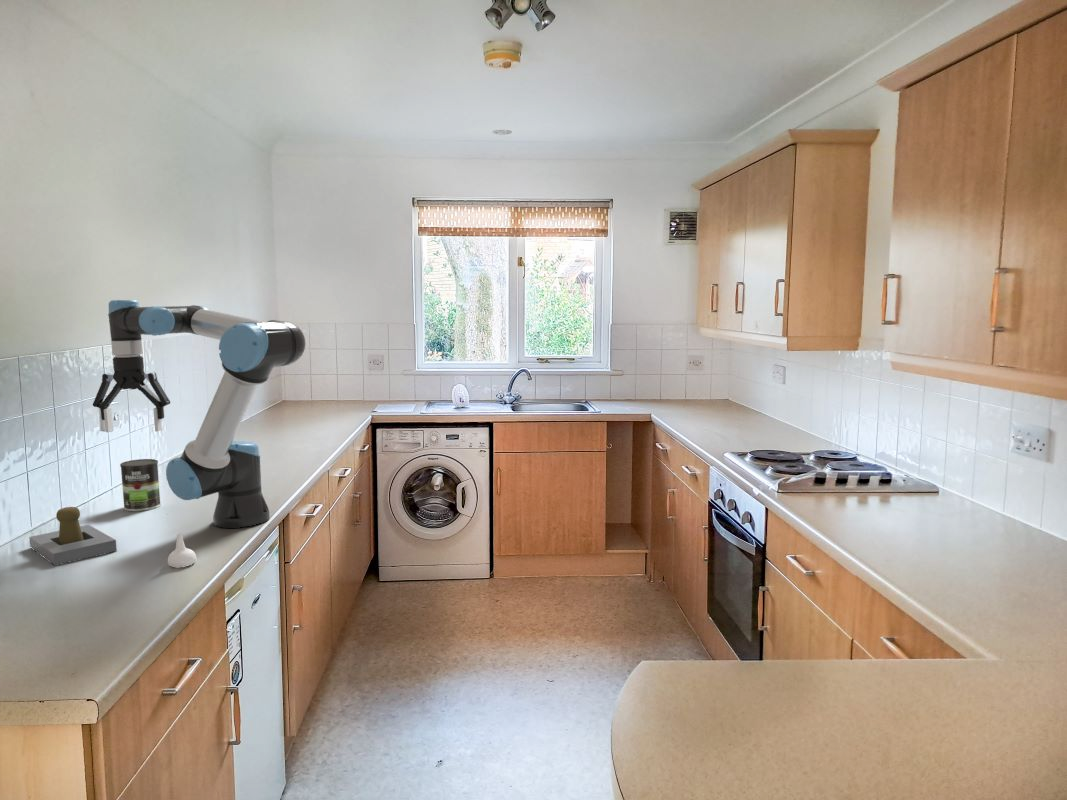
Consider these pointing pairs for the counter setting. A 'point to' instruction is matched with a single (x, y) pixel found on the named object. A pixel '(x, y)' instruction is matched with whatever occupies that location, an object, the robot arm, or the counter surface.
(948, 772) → the counter surface
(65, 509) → the cork
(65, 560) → the dock board
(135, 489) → the coffee can
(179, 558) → the garlic bulb
